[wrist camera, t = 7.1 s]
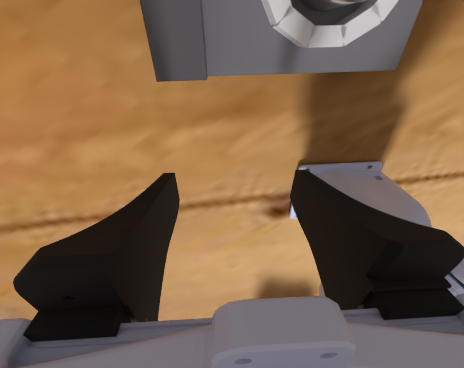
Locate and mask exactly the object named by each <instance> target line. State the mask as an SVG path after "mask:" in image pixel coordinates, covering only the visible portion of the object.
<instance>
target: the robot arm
mask: <svg viewBox="0 0 464 368" xmlns="http://www.w3.org/2000/svg"><path fill="white" fill-rule="evenodd" d="M369 165H370V166H369ZM368 166H369V167H368ZM382 167H383V164H382V163H381V162H379V161H376V162H355V163H334V164H313V165H301V166H300V167H299V168H298V170H296V171H295V176H294V180H293V185H292V190H291V194H290V198H291V202H292V203H291V208H290V213H289V217H290V218H291V219H298V220H299V223H300V225H301V227H302V229H303V231H304V233H305V236H306V238H307V240H308V242H309V245H310V247H311V250H312V253H313V256H314V259H315V262H316V266H317V269H318V272H319V275H320V279H321V283H320V286H319V296H301V297H283V298H265V299H247V300H239V301H234V302H228V303H227V304H225V305H223V306H221V307H219V308H218V309H217V310H216V311H215V313H214V315H213V317H212V318H203V319H186V320H169V321H158V313H159V304H160V296H161V289H162V282H163V275H164V268H165V262H166V256H167V251H168V247H169V243H170V240H171V236H172V233H173V229H174V226H175V222H176V219H177V215H178V209H179V201H180V199H179V194H178V189H177V183H176V178H175V173H164V174H162V175H161V176H160V177H159V178H158V179H157V180H156V181H155V182H154V183H153V184H152V185H150V186H149V187H148V188H147V189H146V190H145V191H144V192H142V193H141V194H140V195H139V196H137V197H136V198H135V199H134V200H133V201H131V202H130V203H129V204H127V205H126V206H124V207H123V208H121V209H120V210H118V211H117V212H115V213H114V214H112V215H110V216H109V217H107V218H105V219H103V220H102V221H100V222H98V223H96V224H94V225H92V226H90V227H88V228H86V229H84V230H82V231H80V232H78V233H76V234H74V235H71V236H69V237H67V238H64V239H62V240H59V241H57V242H54V243H52V244H49V245H47V246H44V247H41V248H40V249H39V250H38V251H37V252H36V253H35V254H34V256H33V257H32V258H31V259H30V260H29V262H28V263H27V264H26V265H25V266H24V267H23V269H22V270H21V271H20V272H19V273H18V274H17V276H16V277H15V278H14V281H13V284H14V287H15V290H16V291H17V293H18V294H19V295H20V296H21V297H22V298H24V299H25V300H26V301H27V302H28V303H29V304H31V305H32V306H33V307H34V308H35V309H36V310H38V313H37V314H36V316H35V317H34V319H33V320H29V319H23V318H17V319H0V368H464V247H463V246H462V245H461V244H460V243H459V242H458V241H457V240H455V239H454V238H453V237H452V236H451V235H450V234H448V233H447V232H446V231H442V230H439V229H435V228H433V227H432V226H431V222H430V219H429V216H428V214H427V212H426V211H425V209H424V208H423V206H422V205H421V204H420V203H419V202H418V201H417V200H415V199H414V198H413V197H412V196H411V195H409V194H408V193H407V192H406V191H404V190H403V189H402V188H401V187H399V186H398V185H397V184H396V183H394V182H393V181H392V180H391V179H390V178H388V177H387V176H386V175H385V174H383V173H382V172H381V169H382ZM307 168H309V169H308V170H306V169H307Z"/></svg>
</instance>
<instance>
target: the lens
mask: <svg viewBox="0 0 464 368" xmlns="http://www.w3.org/2000/svg"><path fill="white" fill-rule="evenodd" d="M364 1H369V0H301V2H302V3H303V4H305V5H306V6H307V7H309V8H311V9H314V10H318V11H325V10H330V9H334V8H337V7H341V6H345V5H348V4H352V3H356V2H364Z"/></svg>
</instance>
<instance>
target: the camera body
mask: <svg viewBox="0 0 464 368" xmlns="http://www.w3.org/2000/svg"><path fill="white" fill-rule="evenodd" d="M422 2H423V0H369V1H364V2H356V3H352V4H348V5H345V6H341V7H337V8H334V9H330V10H325V11H318V10H314V9H311V8H309V7H307V6H306V5H305V4H303V3H302V2H301V0H140V4H141V9H142V14H143V18H144V23H145V28H146V33H147V37H148V42H149V47H150V52H151V56H152V61H153V66H154V71H155V75H156V80H157V82H160V81H191V80H207V77H208V76H233V75H264V74H295V73H325V72H356V71H387V70H396V69H397V67H398V64H399V61H400V59H401V56H402V54H403V51H404V49H405V46H406V43H407V41H408V38H409V36H410V33H411V31H412V28H413V25H414V23H415V20H416V18H417V15H418V12H419V10H420V7H421V5H422Z"/></svg>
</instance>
